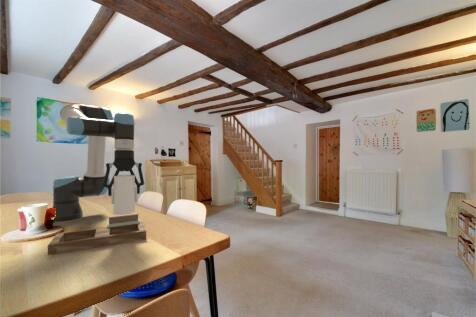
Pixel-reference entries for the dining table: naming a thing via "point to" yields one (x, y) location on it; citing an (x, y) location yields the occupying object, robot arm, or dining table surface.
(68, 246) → the board
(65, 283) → the dining table surface
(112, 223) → the lid
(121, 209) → the cup
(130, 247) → the dining table surface
